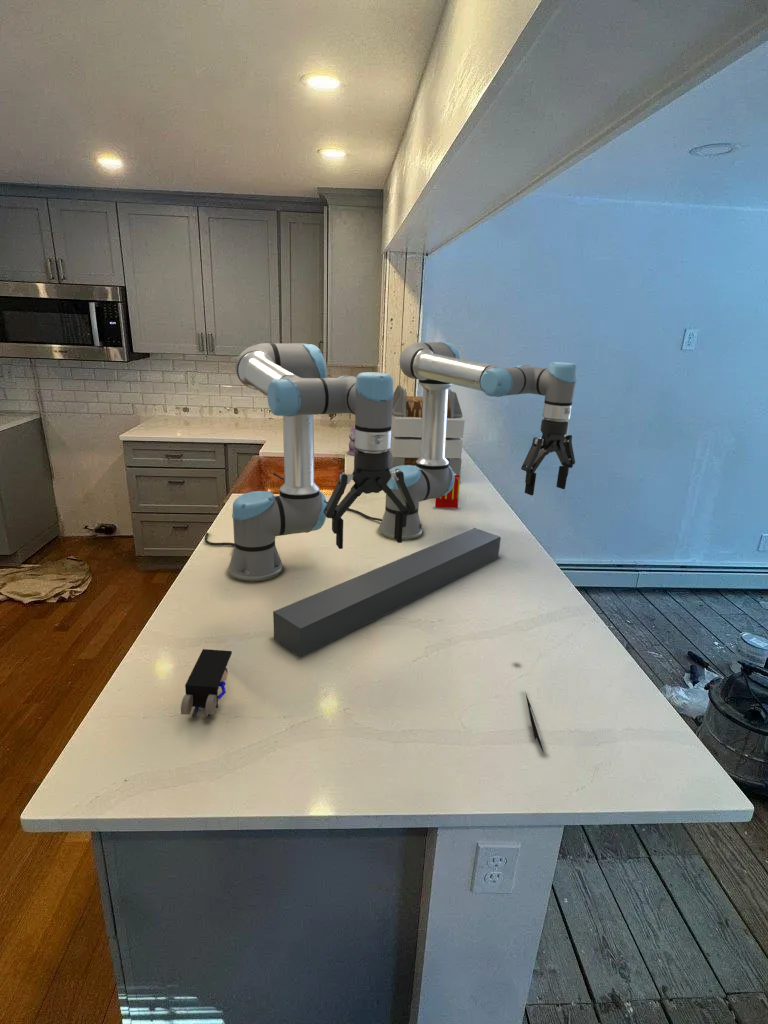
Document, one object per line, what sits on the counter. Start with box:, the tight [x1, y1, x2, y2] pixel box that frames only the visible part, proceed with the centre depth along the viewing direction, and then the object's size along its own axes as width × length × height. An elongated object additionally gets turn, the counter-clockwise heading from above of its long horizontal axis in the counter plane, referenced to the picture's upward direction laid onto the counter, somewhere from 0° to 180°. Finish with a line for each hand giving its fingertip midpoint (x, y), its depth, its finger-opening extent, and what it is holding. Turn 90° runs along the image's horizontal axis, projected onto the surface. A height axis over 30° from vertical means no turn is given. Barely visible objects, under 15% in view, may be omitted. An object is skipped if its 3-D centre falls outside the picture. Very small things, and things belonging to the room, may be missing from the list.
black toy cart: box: [180, 648, 233, 720], centre depth 111 cm, size 7×8×15 cm
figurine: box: [348, 425, 357, 456], centre depth 304 cm, size 9×10×15 cm
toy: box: [434, 471, 461, 509], centre depth 239 cm, size 12×13×30 cm
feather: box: [525, 691, 547, 753], centre depth 115 cm, size 2×28×2 cm
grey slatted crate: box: [388, 384, 465, 476], centre depth 268 cm, size 34×33×41 cm
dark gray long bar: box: [272, 527, 502, 658], centre depth 158 cm, size 82×10×8 cm, turn 137°
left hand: (369, 543), depth 125 cm, fingers open, 13 cm apart
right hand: (545, 491), depth 167 cm, fingers open, 13 cm apart
